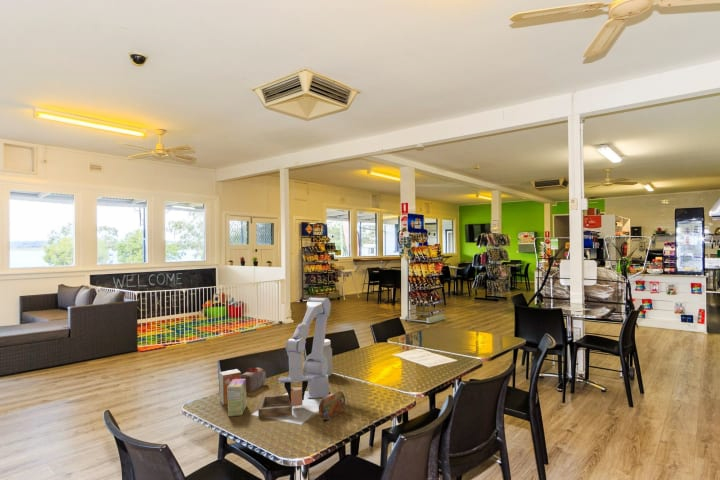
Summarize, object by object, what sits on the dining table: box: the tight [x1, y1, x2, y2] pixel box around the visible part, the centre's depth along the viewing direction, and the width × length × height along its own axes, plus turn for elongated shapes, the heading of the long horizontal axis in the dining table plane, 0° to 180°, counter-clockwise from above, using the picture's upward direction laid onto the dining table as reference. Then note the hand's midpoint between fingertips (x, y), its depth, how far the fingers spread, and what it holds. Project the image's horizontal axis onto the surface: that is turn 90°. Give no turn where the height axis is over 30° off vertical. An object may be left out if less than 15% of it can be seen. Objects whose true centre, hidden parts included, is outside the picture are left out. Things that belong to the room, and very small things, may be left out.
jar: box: [315, 338, 334, 377], centre depth 217 cm, size 10×10×18 cm
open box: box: [257, 394, 293, 419], centre depth 172 cm, size 13×14×4 cm
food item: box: [241, 367, 267, 394], centre depth 200 cm, size 14×8×10 cm, turn 163°
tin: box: [318, 390, 346, 421], centre depth 165 cm, size 15×3×8 cm, turn 148°
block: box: [290, 386, 303, 407], centre depth 173 cm, size 4×4×6 cm
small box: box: [218, 368, 242, 406], centre depth 184 cm, size 8×6×13 cm
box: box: [227, 379, 247, 417], centre depth 172 cm, size 10×6×12 cm, turn 5°
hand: (296, 399), depth 173 cm, fingers closed on block, 4 cm apart
